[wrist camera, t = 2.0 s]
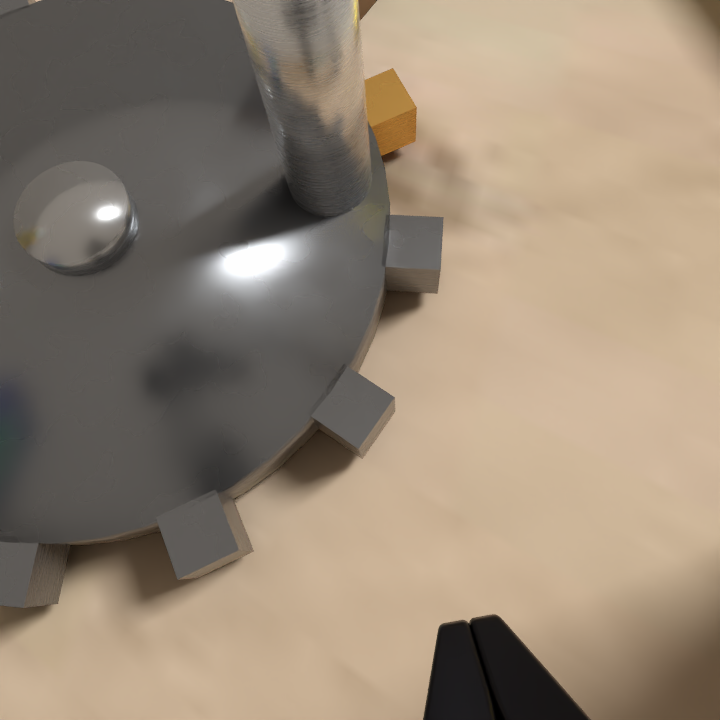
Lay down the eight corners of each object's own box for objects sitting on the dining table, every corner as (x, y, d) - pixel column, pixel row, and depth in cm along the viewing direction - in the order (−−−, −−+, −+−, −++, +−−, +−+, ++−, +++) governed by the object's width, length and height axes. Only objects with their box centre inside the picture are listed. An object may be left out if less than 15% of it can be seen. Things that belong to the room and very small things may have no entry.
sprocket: (-248, 660, 21) (-1078, 786, 9) (-181, 55, 29) (-586, -298, 17) (506, 521, 21) (642, 469, 9) (369, -50, 29) (347, -478, 17)
